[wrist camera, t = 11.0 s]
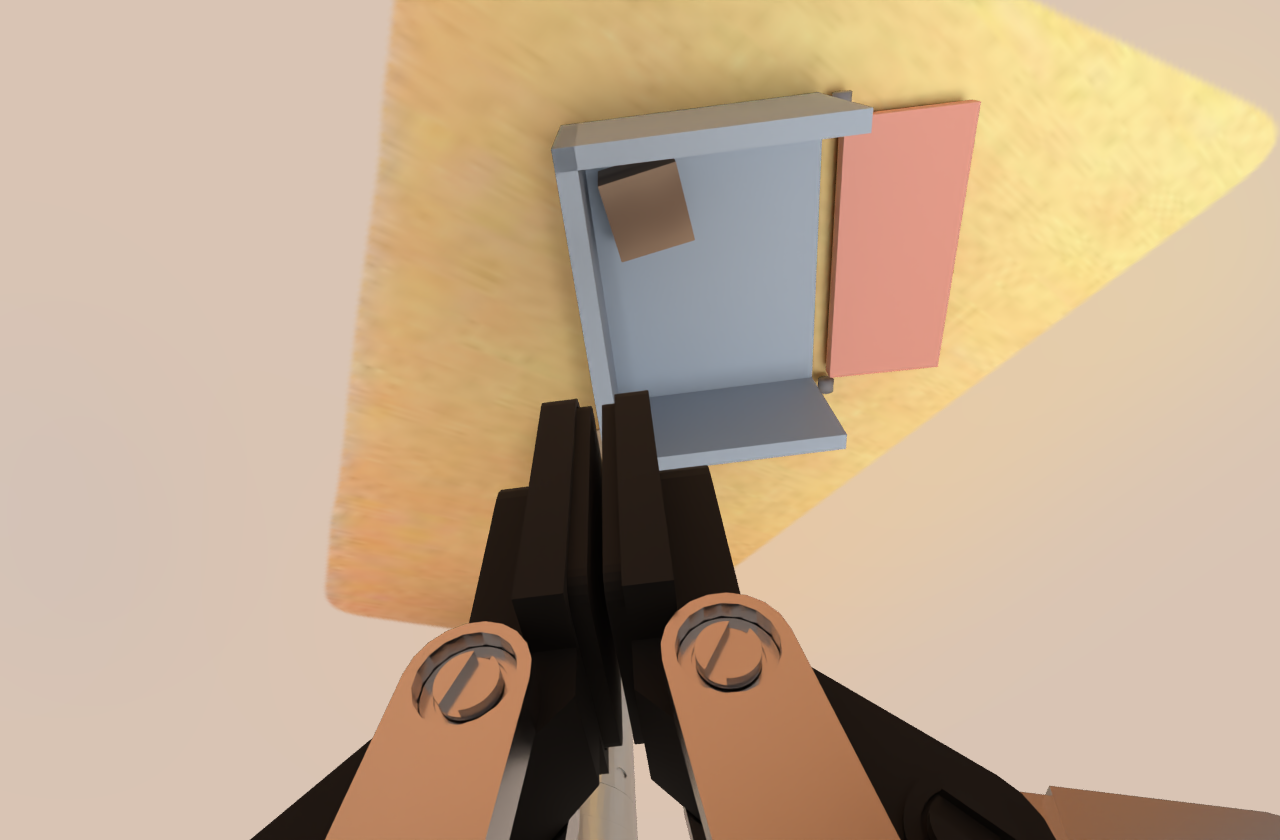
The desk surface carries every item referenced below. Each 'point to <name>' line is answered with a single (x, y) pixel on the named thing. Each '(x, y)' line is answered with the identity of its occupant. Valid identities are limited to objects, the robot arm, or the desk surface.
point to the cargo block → (645, 207)
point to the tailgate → (897, 237)
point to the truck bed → (711, 276)
